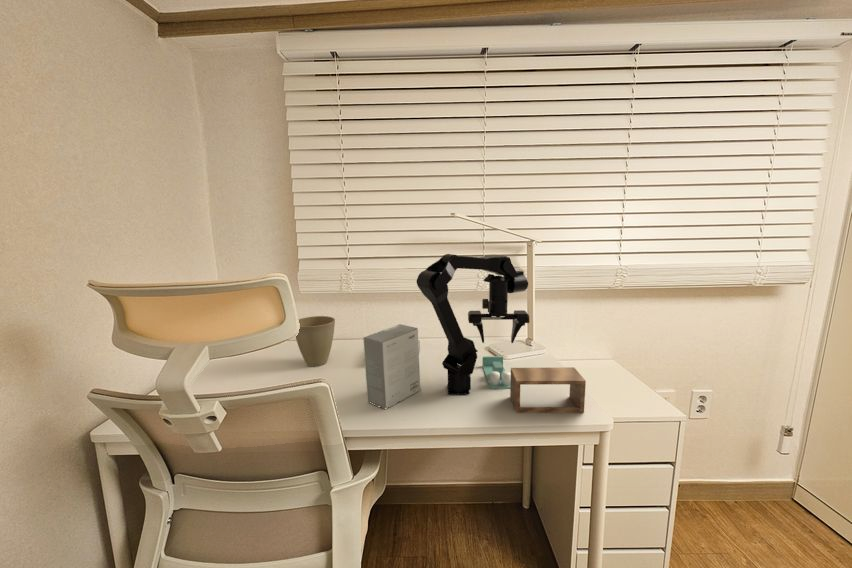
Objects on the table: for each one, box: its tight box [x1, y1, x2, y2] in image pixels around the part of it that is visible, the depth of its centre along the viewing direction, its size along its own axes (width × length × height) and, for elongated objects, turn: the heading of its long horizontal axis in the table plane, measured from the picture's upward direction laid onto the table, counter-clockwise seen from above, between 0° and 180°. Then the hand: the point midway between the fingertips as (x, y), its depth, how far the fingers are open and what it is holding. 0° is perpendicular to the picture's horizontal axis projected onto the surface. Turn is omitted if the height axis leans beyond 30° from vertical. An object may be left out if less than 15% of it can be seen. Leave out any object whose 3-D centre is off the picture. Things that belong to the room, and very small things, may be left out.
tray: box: [482, 355, 511, 390], centre depth 127 cm, size 18×7×5 cm, turn 0°
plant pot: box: [295, 315, 336, 367], centre depth 142 cm, size 15×15×16 cm
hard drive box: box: [362, 324, 421, 410], centre depth 114 cm, size 16×8×20 cm, turn 141°
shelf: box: [509, 366, 586, 413], centre depth 108 cm, size 18×9×9 cm, turn 88°
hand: (497, 342), depth 125 cm, fingers open, 9 cm apart
